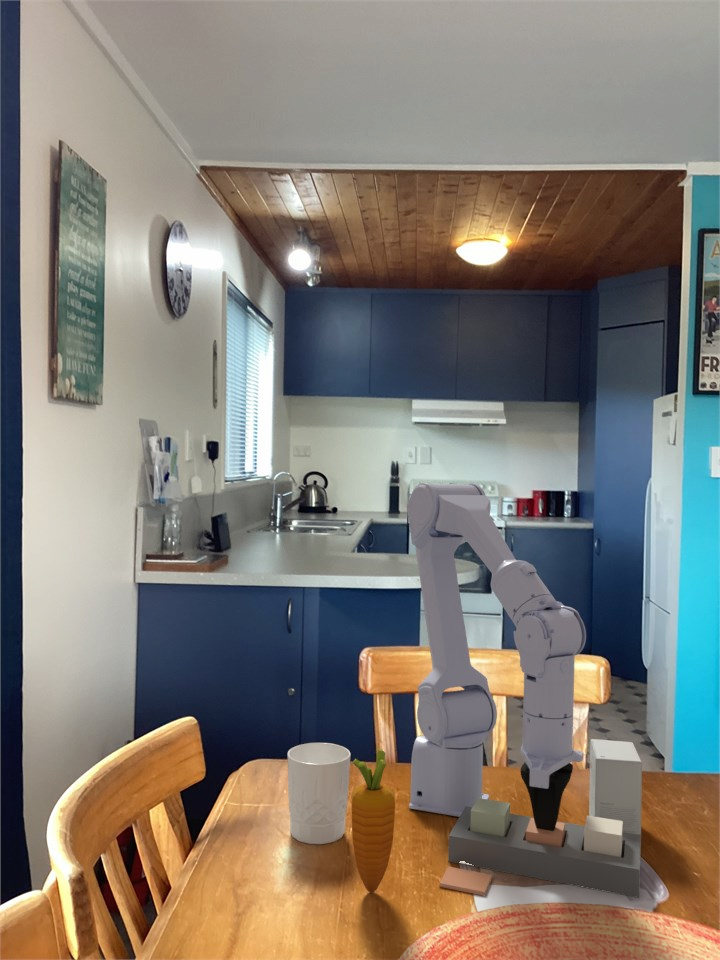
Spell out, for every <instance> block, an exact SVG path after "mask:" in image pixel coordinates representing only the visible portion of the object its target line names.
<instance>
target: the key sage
mask: <svg viewBox="0 0 720 960" xmlns="http://www.w3.org/2000/svg"><path fill="white" fill-rule="evenodd" d="M510 814H511V802H505V801H498V800H494V799H489V800H487V799H481V798H477V800H476V802H475V804H474V806H473V807H472V809H471V823H470V831H473V832H479V833H485V834H491V835H496V836H502V837H507V834H508V832H509V829H510Z"/></svg>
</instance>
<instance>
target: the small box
mask: <svg viewBox="0 0 720 960" xmlns="http://www.w3.org/2000/svg"><path fill="white" fill-rule="evenodd" d="M642 783H643V761H642V759H641V757H640V755H639V753H638V751H637V749H636V747H635V744H634V743H633V742H631V741H621V740H611V739H610V740H609V739H608V740H607V739H596V738H591V739H590V742H589V792H588V793H589V797H588V799H589V801H588V803H589V804H588V805H589V806H588V808H589V809H588V816H594V817H600V818H606V819H612V820H619V821H623V832H626V833H632V834H638V835H641V836H642V802H643V801H642V799H643V798H642V790H643V788H642V787H643V785H642Z"/></svg>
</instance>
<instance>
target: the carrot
mask: <svg viewBox="0 0 720 960" xmlns="http://www.w3.org/2000/svg"><path fill="white" fill-rule="evenodd" d="M375 761H376V762H375V768H374V772H372V768H371V767H368V766H367V764H366V763H365V761H360V760H358V759H357V758H355V759H354V760H353V761H352V764H353V765H354V766H355V767H357V768H358V770H359V772H360V774H361V775H362V777H363V778H364V779H363V780H364V781H365V783H362V784H360V785H358V786H356V787H354V788H353V789H352V792H351V830H352V831H351V833H352V835H351V836H352V837H351V838H352V839H351V840H352V846H353V847H352V848H353V853H354V859H355V865H356V868H357V870H358V874H359V877H360V880H361V881H362V884H363V886H364V887H365V890H366V891H367V892H369V894H373V893H374V892H376V891H377V889H378V887H379V886H380V884H381V883H382V880H383V878H384V876H385V874H386V871H387V868H388V867H389V862H390V857H391V856H390V855H391V853H392V846H393V840H394V832H395V812H396V811H395V810H396V800H395V793H394V790H393V789H392V788H391V787H390V786H388V785H385V784H382V783H381V782H382V777H383V773H384V770H385V768H386V766H387V763H386V752H385V751H384V750H383V749H381V748H380V749H377V751H376V759H375Z"/></svg>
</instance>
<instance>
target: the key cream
mask: <svg viewBox="0 0 720 960" xmlns="http://www.w3.org/2000/svg"><path fill="white" fill-rule="evenodd" d="M584 826H585V828H584V851H588V852H594V853H599V854H605V855H611V856H616V857H622V833H623V821H619V820H612V819H606V818H600V817H594V816H589V815H586V818H585V824H584Z"/></svg>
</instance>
